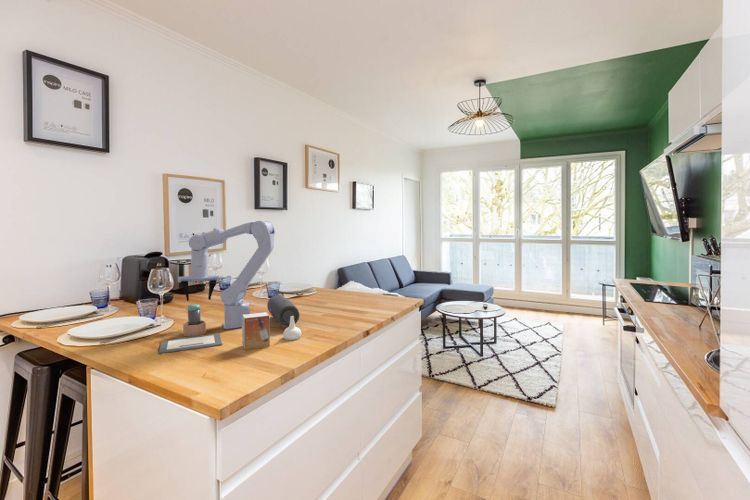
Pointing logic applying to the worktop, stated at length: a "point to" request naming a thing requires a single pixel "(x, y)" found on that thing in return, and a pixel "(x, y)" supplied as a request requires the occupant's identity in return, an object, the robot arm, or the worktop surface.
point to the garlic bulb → (292, 331)
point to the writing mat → (190, 343)
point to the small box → (255, 330)
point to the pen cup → (194, 329)
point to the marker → (194, 314)
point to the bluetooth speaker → (282, 310)
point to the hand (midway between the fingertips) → (198, 299)
